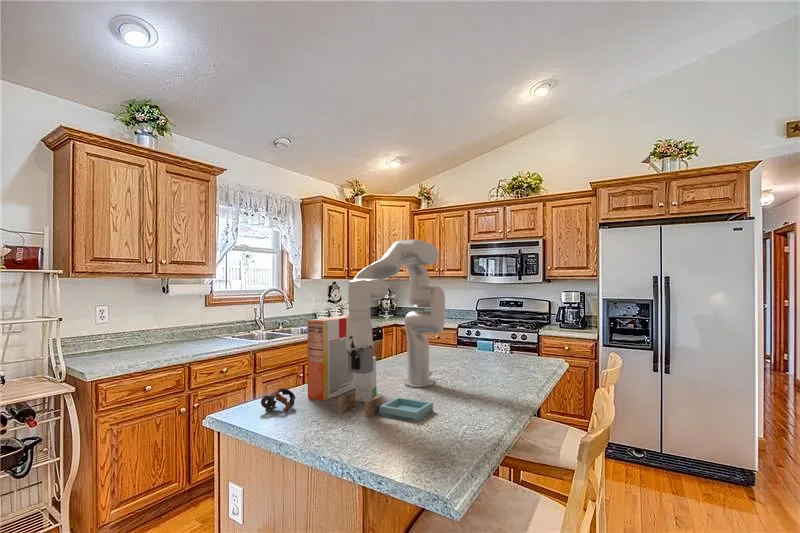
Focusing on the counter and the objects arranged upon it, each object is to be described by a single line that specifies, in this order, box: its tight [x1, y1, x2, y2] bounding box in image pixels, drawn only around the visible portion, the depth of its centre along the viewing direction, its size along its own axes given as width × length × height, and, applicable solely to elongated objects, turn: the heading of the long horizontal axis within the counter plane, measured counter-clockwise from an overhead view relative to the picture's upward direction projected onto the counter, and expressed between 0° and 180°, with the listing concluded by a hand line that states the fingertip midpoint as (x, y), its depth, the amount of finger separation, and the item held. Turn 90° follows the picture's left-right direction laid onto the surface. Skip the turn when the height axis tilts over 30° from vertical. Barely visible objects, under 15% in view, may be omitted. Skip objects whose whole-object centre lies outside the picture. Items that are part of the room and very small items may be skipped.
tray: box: [379, 396, 434, 423], centre depth 137 cm, size 12×14×3 cm
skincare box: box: [355, 356, 378, 403], centre depth 155 cm, size 8×7×16 cm
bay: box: [338, 391, 383, 419], centre depth 140 cm, size 8×12×5 cm, turn 59°
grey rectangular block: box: [348, 345, 374, 374], centre depth 141 cm, size 5×7×9 cm
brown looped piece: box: [260, 387, 296, 413], centre depth 142 cm, size 12×10×8 cm
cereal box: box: [307, 314, 356, 401], centre depth 165 cm, size 23×8×30 cm, turn 149°
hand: (360, 366), depth 140 cm, fingers closed on grey rectangular block, 5 cm apart
